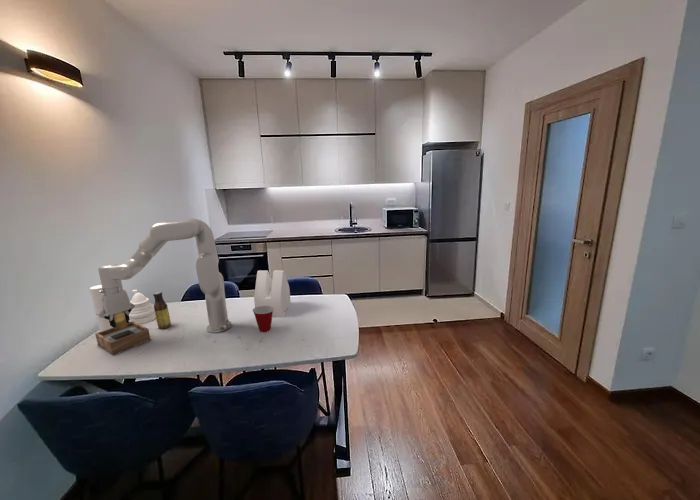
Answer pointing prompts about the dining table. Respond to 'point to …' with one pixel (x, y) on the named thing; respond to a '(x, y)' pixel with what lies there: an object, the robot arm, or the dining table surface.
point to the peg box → (122, 337)
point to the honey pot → (141, 309)
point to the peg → (120, 320)
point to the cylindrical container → (99, 307)
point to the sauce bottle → (161, 311)
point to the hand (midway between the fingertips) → (120, 324)
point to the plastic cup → (263, 317)
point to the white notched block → (272, 291)
